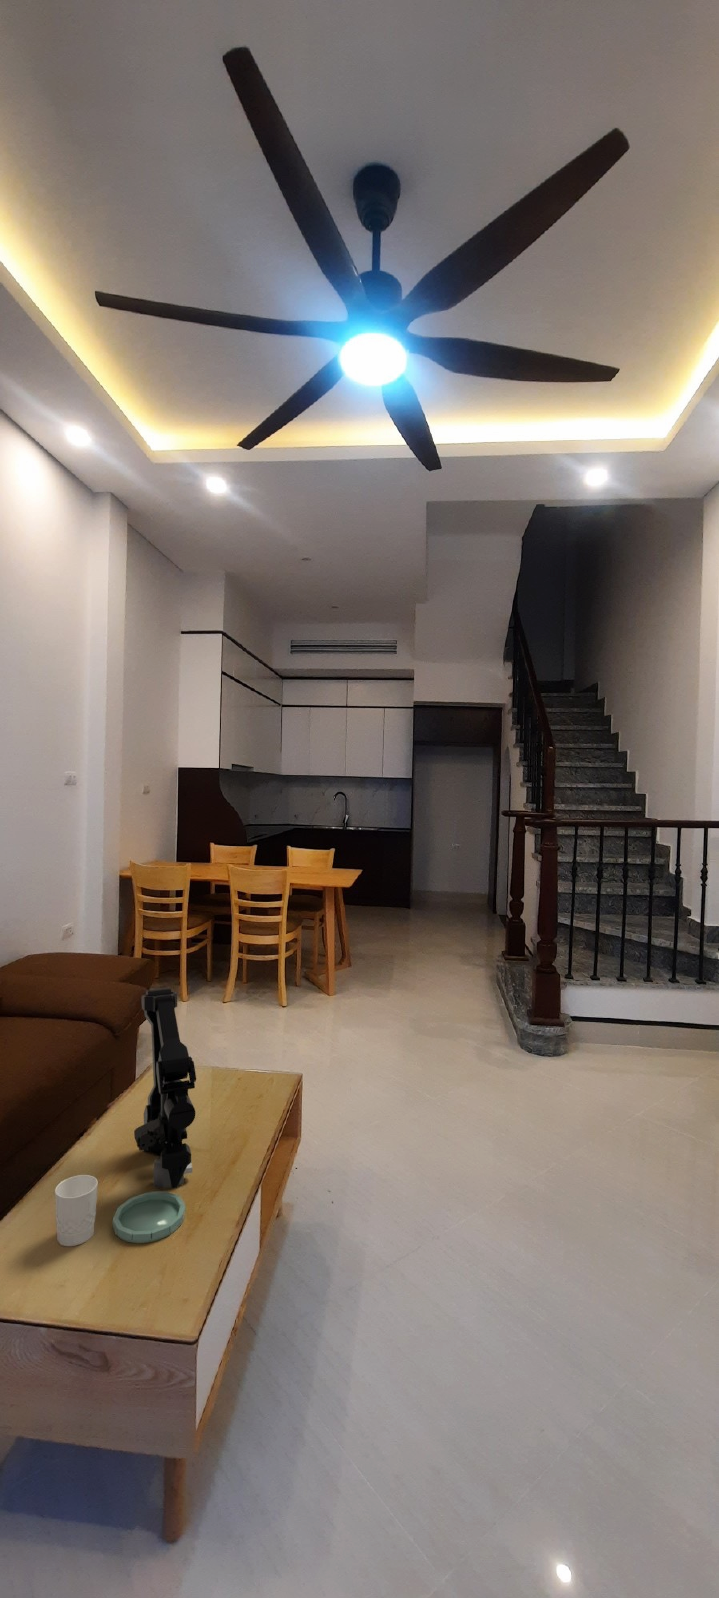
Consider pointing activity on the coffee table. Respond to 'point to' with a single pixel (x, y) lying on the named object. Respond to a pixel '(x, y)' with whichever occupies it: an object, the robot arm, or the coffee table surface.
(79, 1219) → the white cup
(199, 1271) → the coffee table surface
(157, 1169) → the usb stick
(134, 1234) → the dish
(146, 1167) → the coffee table surface
